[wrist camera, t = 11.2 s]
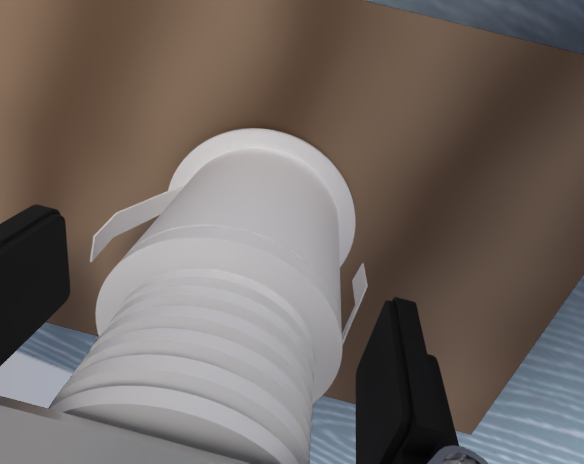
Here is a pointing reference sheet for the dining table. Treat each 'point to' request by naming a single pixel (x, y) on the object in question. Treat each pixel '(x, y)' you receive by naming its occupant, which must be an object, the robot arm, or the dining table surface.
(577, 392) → the dining table surface
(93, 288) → the walnut board
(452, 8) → the dining table surface
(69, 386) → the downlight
